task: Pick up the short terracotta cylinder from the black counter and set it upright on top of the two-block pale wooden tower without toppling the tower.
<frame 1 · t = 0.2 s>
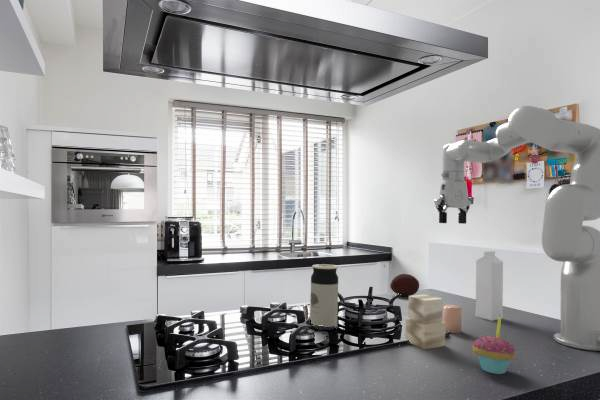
hand: (452, 223, 149), 31 cm above the countertop, tool pointing down, fingers open, 9 cm apart
terracotta cylinder: (452, 330, 118), on the countertop
milk: (488, 318, 134), on the countertop
tower base: (424, 343, 105), on the countertop, touching tower top
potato: (404, 296, 167), on the countertop
tower top: (425, 320, 105), point 6 cm above the countertop, touching tower base
travel mug: (323, 328, 117), on the countertop
cupcake: (493, 371, 88), on the countertop
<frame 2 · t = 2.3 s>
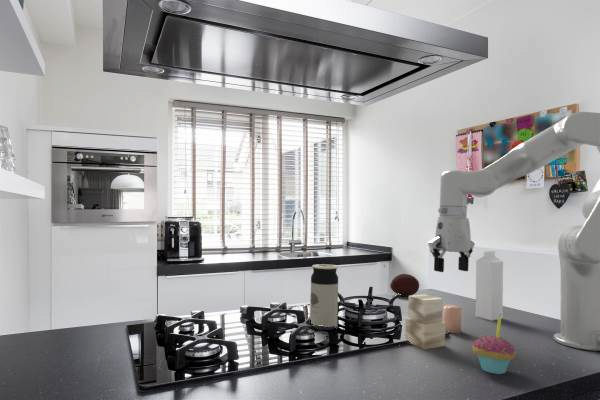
hand: (451, 271, 118), 17 cm above the countertop, tool pointing down, fingers open, 9 cm apart
nothing on the countertop moved.
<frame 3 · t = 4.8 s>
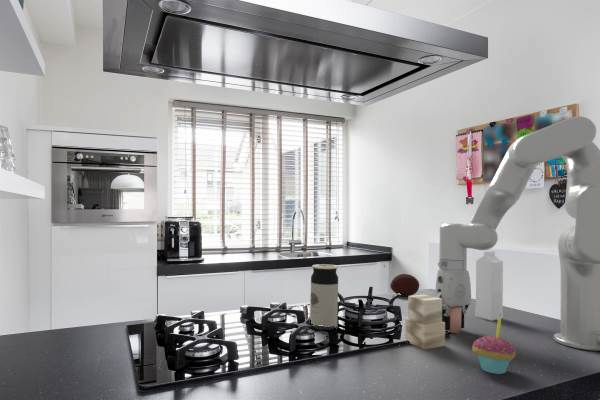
hand: (452, 327, 118), 1 cm above the countertop, tool pointing down, fingers closed on terracotta cylinder, 5 cm apart
terracotta cylinder: (452, 330, 118), on the countertop, touching gripper
everything else where it was.
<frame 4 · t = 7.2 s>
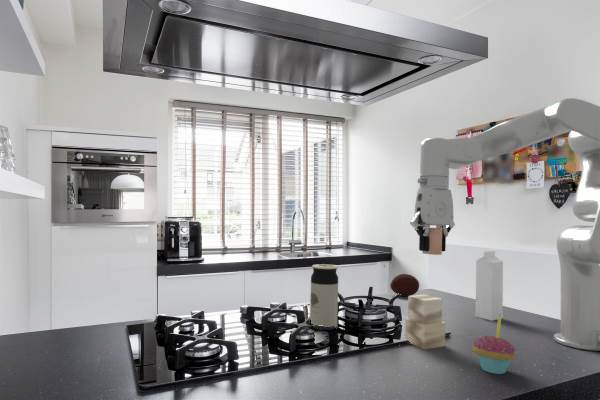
hand: (432, 250, 109), 24 cm above the countertop, tool pointing down, fingers closed on terracotta cylinder, 5 cm apart
terracotta cylinder: (432, 253, 109), point 23 cm above the countertop, touching gripper
everything else where it was.
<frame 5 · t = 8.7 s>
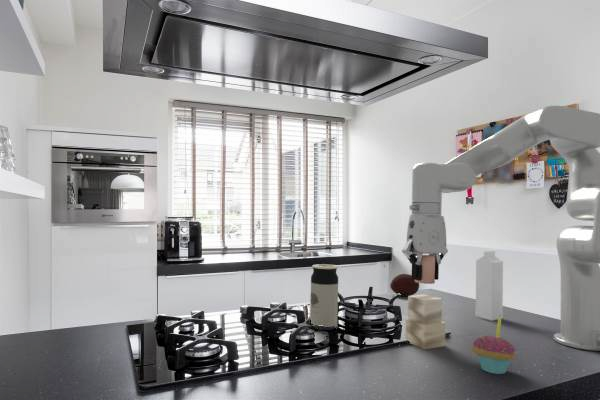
hand: (424, 278, 106), 17 cm above the countertop, tool pointing down, fingers closed on terracotta cylinder, 5 cm apart
terracotta cylinder: (424, 282, 106), point 16 cm above the countertop, touching gripper
everything else where it was.
when the fingers open (14 cm above the countertop, at t = 10.0 s): terracotta cylinder drops 1 cm, resting on tower top.
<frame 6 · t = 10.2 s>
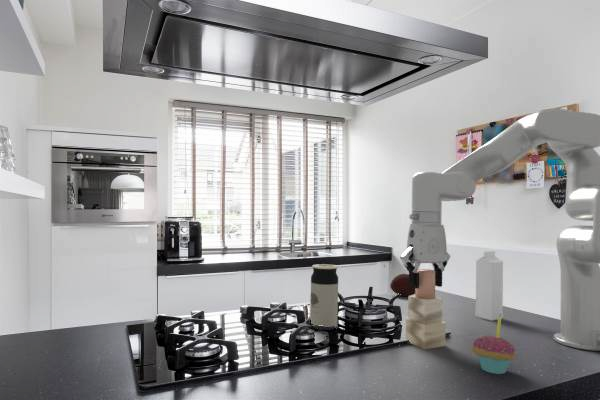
hand: (425, 286, 106), 15 cm above the countertop, tool pointing down, fingers open, 7 cm apart
terracotta cylinder: (425, 297, 106), point 12 cm above the countertop, touching tower top
tower top: (424, 320, 105), point 6 cm above the countertop, touching terracotta cylinder, tower base
everything else where it was.
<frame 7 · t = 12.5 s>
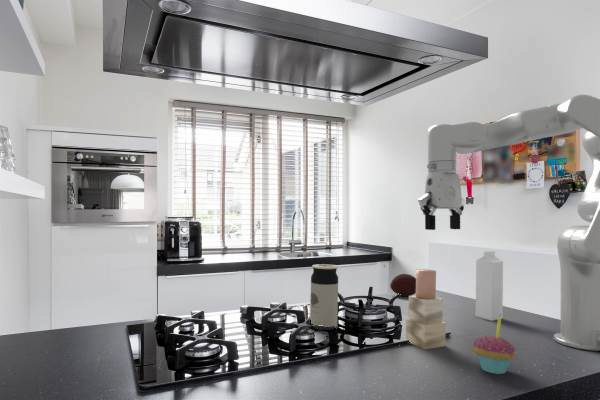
hand: (442, 229, 114), 30 cm above the countertop, tool pointing down, fingers open, 9 cm apart
nothing on the countertop moved.
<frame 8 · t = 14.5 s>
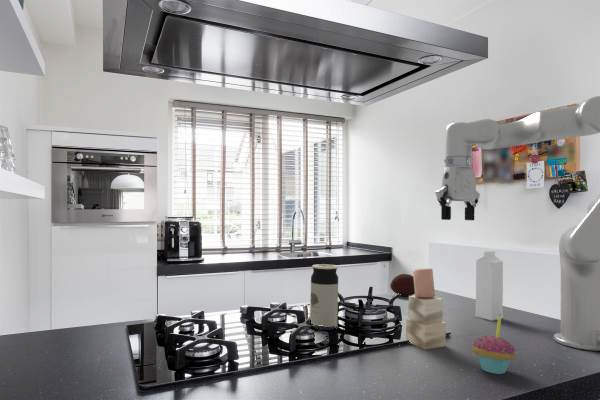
hand: (457, 220, 122), 32 cm above the countertop, tool pointing down, fingers open, 9 cm apart
terracotta cylinder: (425, 296, 106), point 12 cm above the countertop, tilted 7°, touching tower top
everything else where it was.
at the end: terracotta cylinder 0.2 cm off-centre on the tower top, point 6.3 cm above the tower top's base; terracotta cylinder tilted 7°; tower top point 5.9 cm above the countertop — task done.
